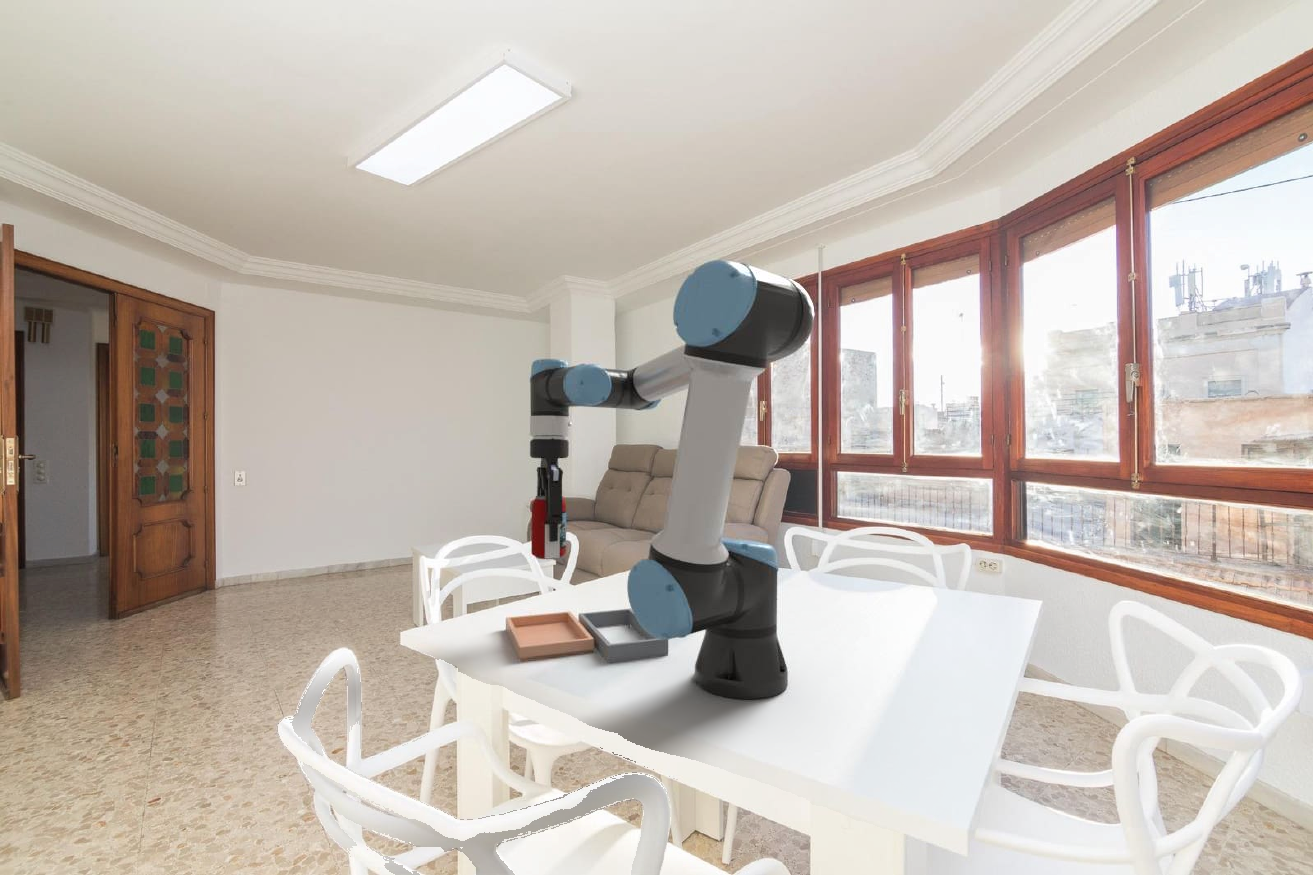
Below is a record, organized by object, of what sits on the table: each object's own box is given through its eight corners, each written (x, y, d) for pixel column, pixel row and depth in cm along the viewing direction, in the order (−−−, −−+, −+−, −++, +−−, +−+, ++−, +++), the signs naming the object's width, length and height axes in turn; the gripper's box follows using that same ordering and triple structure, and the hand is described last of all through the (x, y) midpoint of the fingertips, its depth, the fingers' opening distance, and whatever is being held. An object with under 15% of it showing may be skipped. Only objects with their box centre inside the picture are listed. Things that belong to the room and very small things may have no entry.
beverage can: (562, 560, 115) (563, 497, 116) (527, 560, 116) (528, 497, 116) (568, 554, 122) (569, 494, 122) (535, 553, 122) (536, 494, 122)
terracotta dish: (593, 652, 112) (593, 639, 112) (519, 661, 107) (519, 647, 107) (570, 622, 130) (570, 611, 130) (505, 629, 125) (505, 617, 125)
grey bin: (668, 655, 111) (668, 638, 111) (607, 662, 107) (607, 645, 107) (630, 622, 131) (630, 608, 131) (578, 627, 127) (578, 613, 127)
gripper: (579, 438, 111) (578, 562, 111) (558, 438, 130) (557, 545, 129) (539, 437, 109) (538, 565, 108) (522, 438, 127) (521, 547, 127)
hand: (548, 554), depth 119 cm, fingers closed on beverage can, 7 cm apart
